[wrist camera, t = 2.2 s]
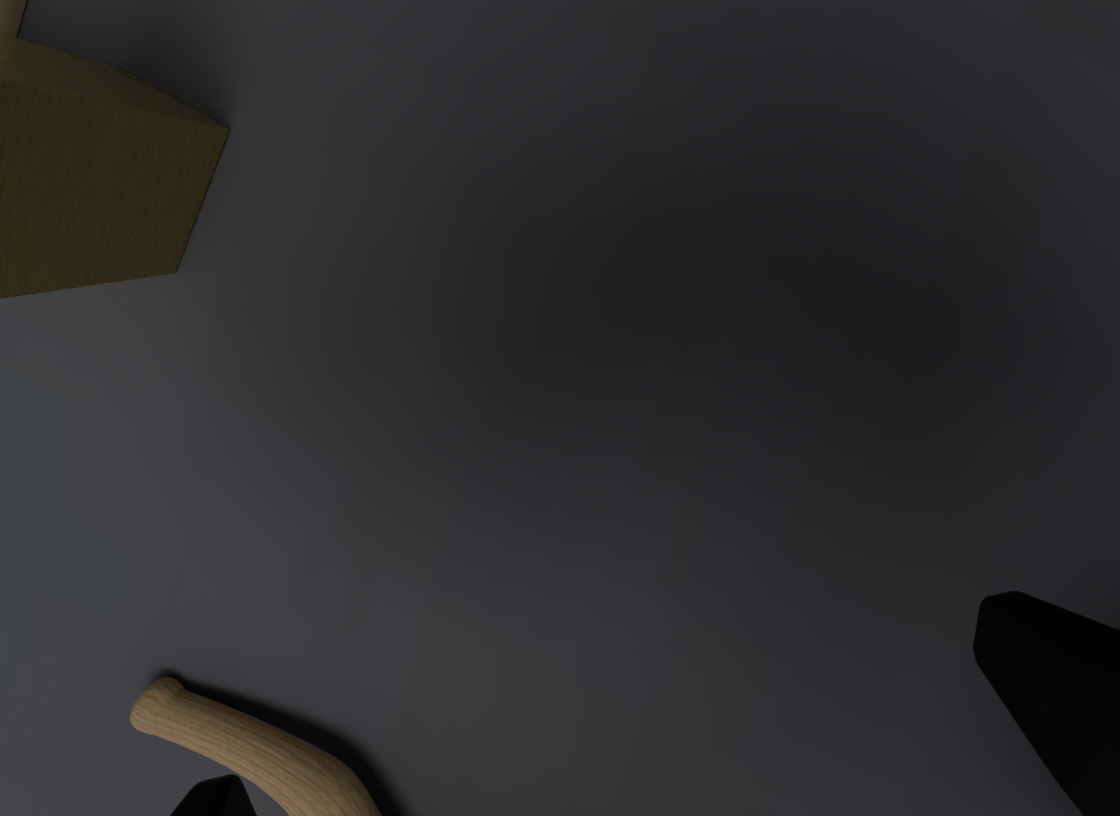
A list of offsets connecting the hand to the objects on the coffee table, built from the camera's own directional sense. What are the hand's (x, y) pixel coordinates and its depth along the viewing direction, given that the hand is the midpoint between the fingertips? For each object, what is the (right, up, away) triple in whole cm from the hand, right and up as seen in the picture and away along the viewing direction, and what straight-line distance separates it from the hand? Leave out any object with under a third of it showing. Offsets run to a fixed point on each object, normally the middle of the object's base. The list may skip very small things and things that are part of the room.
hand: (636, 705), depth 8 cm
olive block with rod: (-16, +12, +9) cm, 22 cm away
